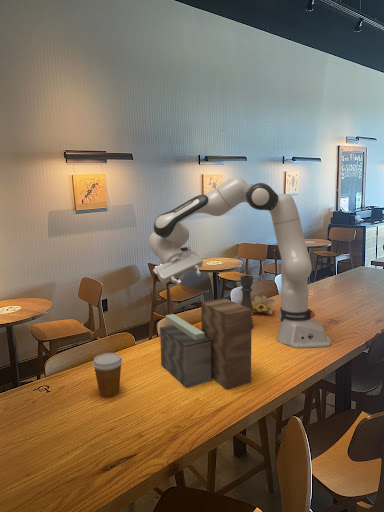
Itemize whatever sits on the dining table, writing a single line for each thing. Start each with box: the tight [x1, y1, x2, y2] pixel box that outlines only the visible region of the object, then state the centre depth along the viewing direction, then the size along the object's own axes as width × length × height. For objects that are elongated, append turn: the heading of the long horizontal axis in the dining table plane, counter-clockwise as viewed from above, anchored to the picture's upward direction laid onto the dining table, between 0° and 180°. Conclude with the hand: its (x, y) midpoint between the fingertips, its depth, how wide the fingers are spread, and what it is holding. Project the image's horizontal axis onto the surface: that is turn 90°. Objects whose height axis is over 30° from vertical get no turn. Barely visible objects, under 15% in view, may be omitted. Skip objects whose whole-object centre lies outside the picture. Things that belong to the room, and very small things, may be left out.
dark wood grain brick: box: [159, 324, 212, 388], centre depth 138 cm, size 20×10×15 cm, turn 29°
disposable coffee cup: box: [92, 352, 123, 398], centre depth 125 cm, size 10×10×12 cm
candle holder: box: [240, 274, 254, 330], centre depth 182 cm, size 6×6×25 cm
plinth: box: [200, 297, 253, 391], centre depth 134 cm, size 16×10×26 cm, turn 29°
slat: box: [165, 313, 205, 340], centre depth 141 cm, size 24×4×2 cm, turn 29°
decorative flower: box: [251, 295, 276, 315], centre depth 205 cm, size 15×11×10 cm
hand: (189, 279), depth 157 cm, fingers open, 8 cm apart
